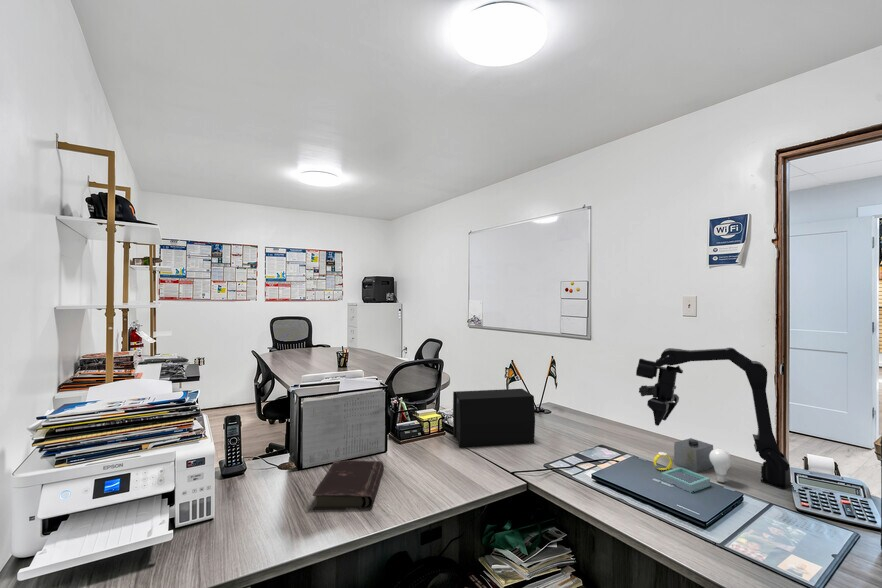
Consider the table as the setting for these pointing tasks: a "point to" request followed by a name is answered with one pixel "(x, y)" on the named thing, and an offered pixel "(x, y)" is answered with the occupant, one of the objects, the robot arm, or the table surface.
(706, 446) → the unit
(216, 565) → the table surface
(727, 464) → the lightbulb
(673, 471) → the tray
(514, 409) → the uninterruptible power supply
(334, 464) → the diary
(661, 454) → the watch
